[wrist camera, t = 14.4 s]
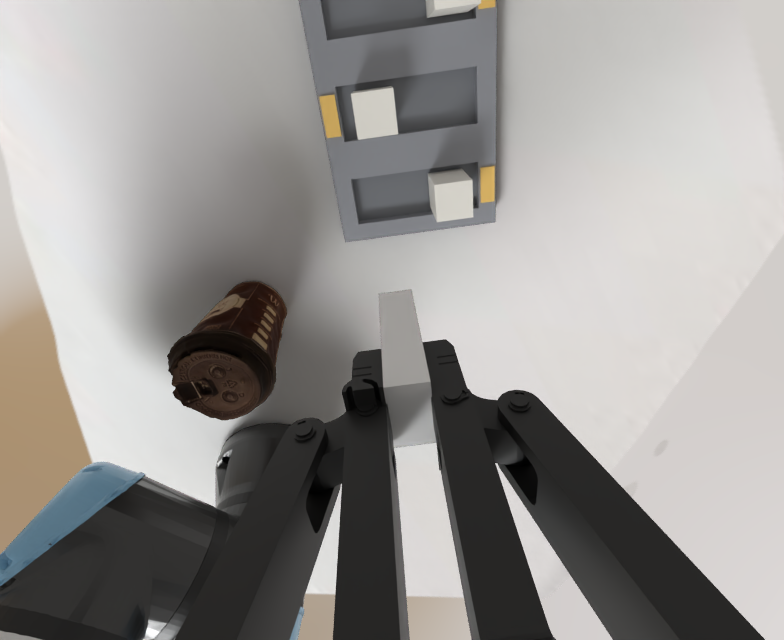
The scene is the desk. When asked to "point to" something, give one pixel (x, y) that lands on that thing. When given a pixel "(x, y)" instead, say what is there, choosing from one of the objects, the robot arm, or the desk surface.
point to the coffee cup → (230, 354)
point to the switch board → (405, 108)
